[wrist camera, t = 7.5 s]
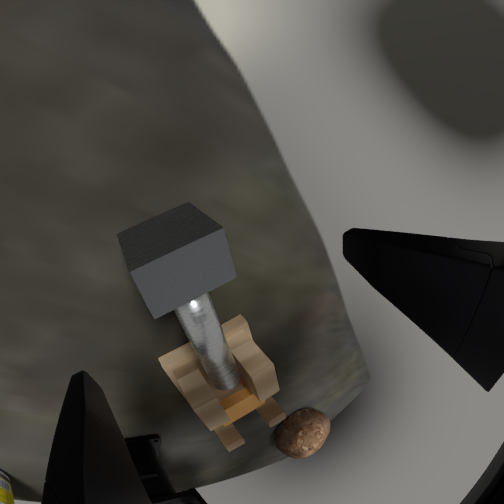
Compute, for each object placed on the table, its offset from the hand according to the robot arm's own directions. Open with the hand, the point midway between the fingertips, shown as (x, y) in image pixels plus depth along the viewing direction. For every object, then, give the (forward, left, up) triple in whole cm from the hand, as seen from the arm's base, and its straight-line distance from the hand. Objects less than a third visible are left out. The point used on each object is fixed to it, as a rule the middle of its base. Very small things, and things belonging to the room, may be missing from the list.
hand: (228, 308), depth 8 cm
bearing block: (-13, -7, -9) cm, 18 cm away
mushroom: (-27, -22, -10) cm, 36 cm away
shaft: (-5, -3, -8) cm, 10 cm away
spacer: (-14, -8, -8) cm, 18 cm away
